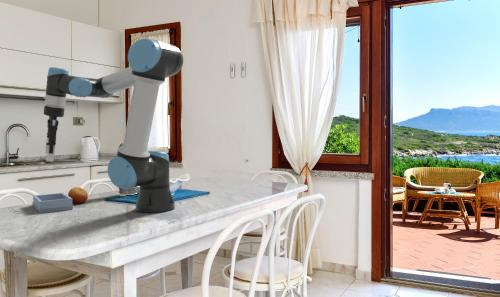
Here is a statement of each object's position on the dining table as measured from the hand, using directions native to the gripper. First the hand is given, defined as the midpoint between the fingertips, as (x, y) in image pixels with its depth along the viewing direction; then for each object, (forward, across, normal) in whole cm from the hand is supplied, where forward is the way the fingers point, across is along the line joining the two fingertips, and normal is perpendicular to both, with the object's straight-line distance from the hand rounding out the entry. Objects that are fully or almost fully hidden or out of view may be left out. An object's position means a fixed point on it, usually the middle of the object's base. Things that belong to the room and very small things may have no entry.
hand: (49, 157), depth 181 cm
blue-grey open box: (+21, +2, +3) cm, 21 cm away
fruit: (+20, -3, +14) cm, 25 cm away
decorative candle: (+19, -15, +37) cm, 44 cm away
